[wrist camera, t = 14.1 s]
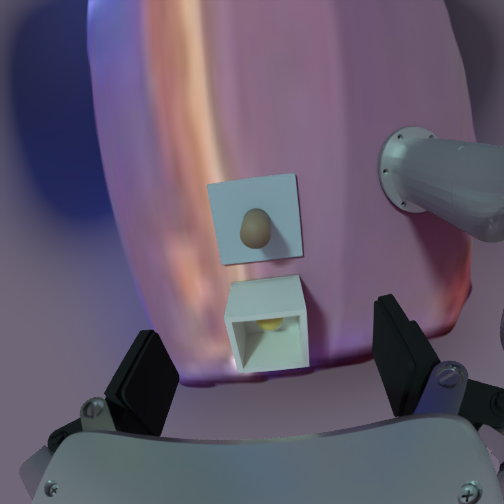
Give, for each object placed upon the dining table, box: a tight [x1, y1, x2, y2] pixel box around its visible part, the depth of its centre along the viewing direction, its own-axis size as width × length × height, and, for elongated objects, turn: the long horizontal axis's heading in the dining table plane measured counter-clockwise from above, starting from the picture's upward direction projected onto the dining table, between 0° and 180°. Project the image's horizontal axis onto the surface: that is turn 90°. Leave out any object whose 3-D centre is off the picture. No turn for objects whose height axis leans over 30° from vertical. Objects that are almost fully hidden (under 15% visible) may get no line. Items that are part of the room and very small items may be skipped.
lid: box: [207, 173, 303, 265], centre depth 36 cm, size 12×12×6 cm
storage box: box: [224, 275, 309, 373], centre depth 39 cm, size 10×10×9 cm
